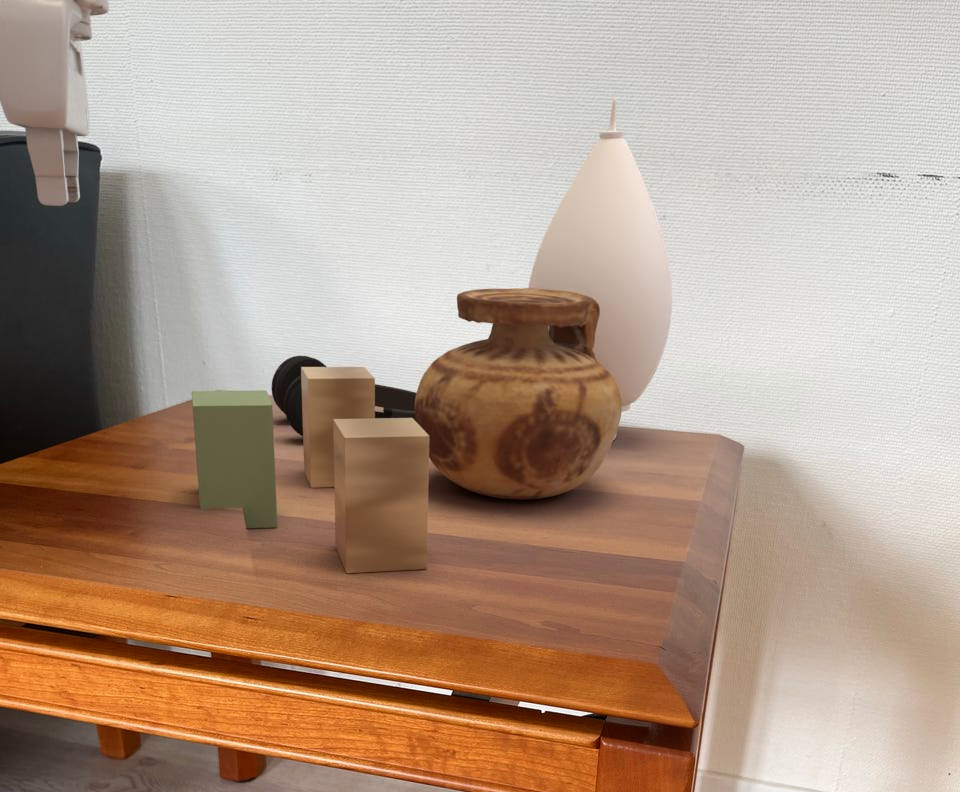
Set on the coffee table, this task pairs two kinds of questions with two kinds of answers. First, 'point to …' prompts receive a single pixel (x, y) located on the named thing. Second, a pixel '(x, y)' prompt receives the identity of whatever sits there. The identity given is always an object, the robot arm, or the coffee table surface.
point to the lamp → (612, 262)
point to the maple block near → (381, 494)
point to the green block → (236, 453)
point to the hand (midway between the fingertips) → (61, 203)
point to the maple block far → (331, 413)
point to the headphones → (289, 371)
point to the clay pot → (521, 396)
